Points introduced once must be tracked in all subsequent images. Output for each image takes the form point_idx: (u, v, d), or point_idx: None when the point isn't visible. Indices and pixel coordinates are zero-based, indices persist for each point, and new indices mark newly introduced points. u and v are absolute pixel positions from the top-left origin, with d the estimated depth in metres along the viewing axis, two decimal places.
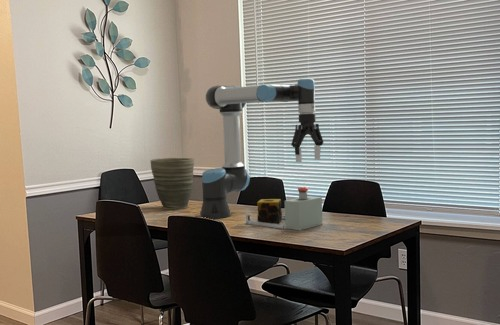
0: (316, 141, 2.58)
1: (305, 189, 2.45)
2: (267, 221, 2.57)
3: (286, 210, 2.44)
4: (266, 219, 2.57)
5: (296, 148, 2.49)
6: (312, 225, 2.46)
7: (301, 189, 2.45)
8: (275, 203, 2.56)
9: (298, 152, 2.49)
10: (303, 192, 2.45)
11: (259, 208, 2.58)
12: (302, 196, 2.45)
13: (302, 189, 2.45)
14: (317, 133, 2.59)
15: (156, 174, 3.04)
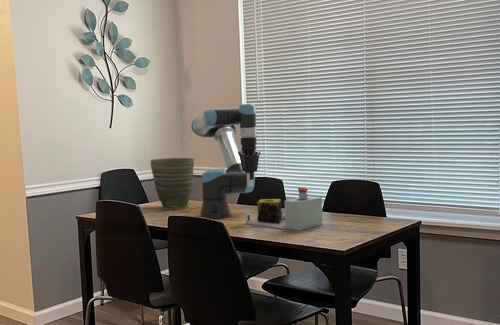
0: None
1: (305, 189, 2.45)
2: (267, 221, 2.57)
3: (286, 210, 2.44)
4: (266, 219, 2.57)
5: None
6: (312, 225, 2.46)
7: (301, 189, 2.45)
8: (275, 203, 2.56)
9: (246, 177, 2.69)
10: (303, 192, 2.45)
11: (259, 208, 2.58)
12: (302, 196, 2.45)
13: (302, 189, 2.45)
14: None
15: (156, 174, 3.04)
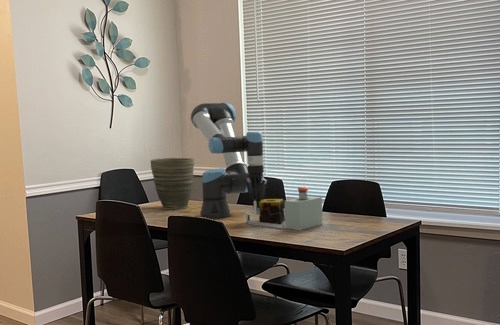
0: None
1: (305, 189, 2.45)
2: (269, 221, 2.56)
3: (286, 210, 2.44)
4: (268, 219, 2.56)
5: None
6: (312, 225, 2.46)
7: (301, 189, 2.45)
8: (277, 203, 2.55)
9: (253, 205, 2.67)
10: (303, 192, 2.45)
11: (261, 208, 2.57)
12: (302, 196, 2.45)
13: (302, 189, 2.45)
14: None
15: (156, 174, 3.04)
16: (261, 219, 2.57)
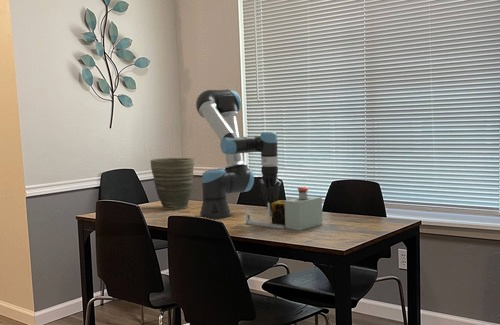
0: None
1: (305, 189, 2.45)
2: (281, 223, 2.51)
3: (286, 210, 2.44)
4: (280, 221, 2.51)
5: None
6: (312, 225, 2.46)
7: (301, 189, 2.45)
8: None
9: (267, 207, 2.61)
10: (303, 192, 2.45)
11: (273, 209, 2.52)
12: (302, 196, 2.45)
13: (302, 189, 2.45)
14: None
15: (156, 174, 3.04)
16: (273, 221, 2.52)
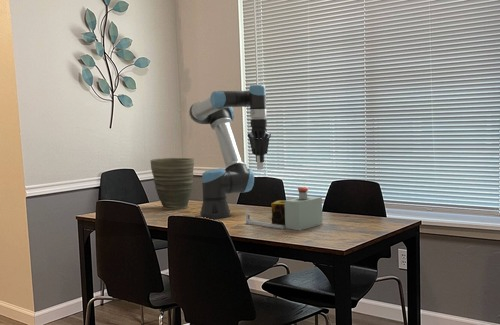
0: None
1: (305, 189, 2.45)
2: (281, 223, 2.51)
3: (286, 210, 2.44)
4: (280, 221, 2.51)
5: None
6: (312, 225, 2.46)
7: (301, 189, 2.45)
8: None
9: (256, 160, 2.63)
10: (303, 192, 2.45)
11: (273, 209, 2.52)
12: (302, 196, 2.45)
13: (302, 189, 2.45)
14: None
15: (156, 174, 3.04)
16: (273, 221, 2.52)
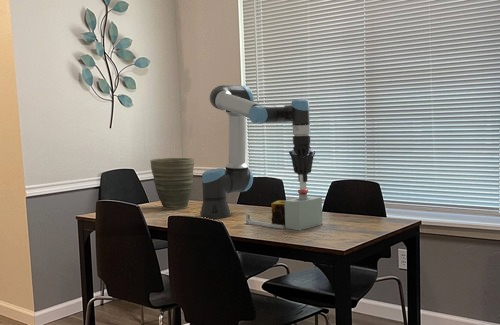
0: None
1: (305, 191, 2.45)
2: (281, 223, 2.51)
3: (286, 210, 2.44)
4: (280, 221, 2.51)
5: None
6: (312, 225, 2.46)
7: (301, 191, 2.45)
8: None
9: (299, 179, 2.47)
10: (303, 194, 2.45)
11: (273, 209, 2.52)
12: (302, 198, 2.45)
13: (302, 191, 2.45)
14: None
15: (156, 174, 3.04)
16: (273, 221, 2.52)
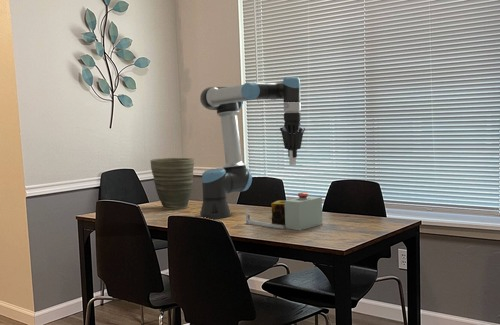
0: None
1: (305, 195, 2.45)
2: (281, 223, 2.51)
3: (286, 210, 2.44)
4: (280, 221, 2.51)
5: None
6: (312, 225, 2.46)
7: (301, 195, 2.45)
8: None
9: (289, 155, 2.54)
10: (303, 198, 2.45)
11: (273, 209, 2.52)
12: None
13: (302, 195, 2.45)
14: None
15: (156, 174, 3.04)
16: (273, 221, 2.52)
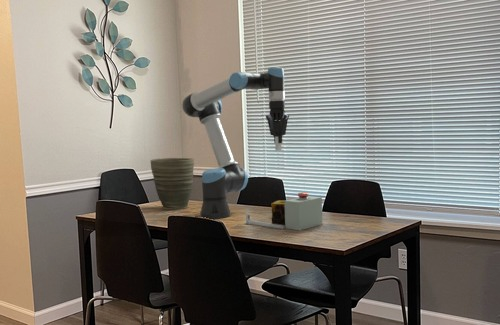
0: None
1: (305, 195, 2.45)
2: (281, 223, 2.51)
3: (286, 210, 2.44)
4: (280, 221, 2.51)
5: None
6: (312, 225, 2.46)
7: (301, 195, 2.45)
8: None
9: (275, 141, 2.69)
10: (303, 198, 2.45)
11: (273, 209, 2.52)
12: None
13: (302, 195, 2.45)
14: None
15: (156, 174, 3.04)
16: (273, 221, 2.52)
